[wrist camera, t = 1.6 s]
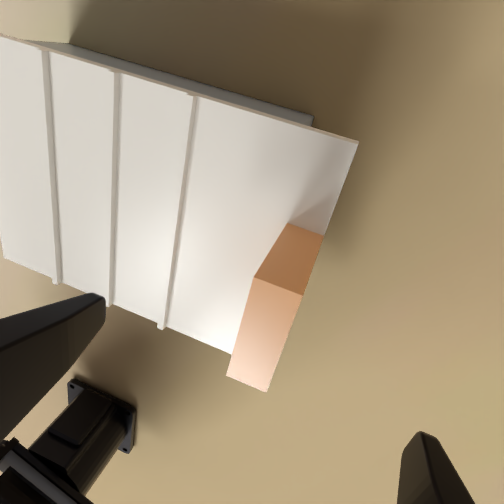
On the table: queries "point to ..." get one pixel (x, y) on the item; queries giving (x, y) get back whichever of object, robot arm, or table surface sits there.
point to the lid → (164, 199)
